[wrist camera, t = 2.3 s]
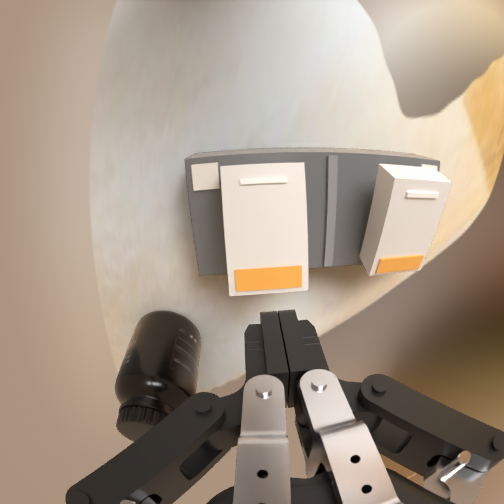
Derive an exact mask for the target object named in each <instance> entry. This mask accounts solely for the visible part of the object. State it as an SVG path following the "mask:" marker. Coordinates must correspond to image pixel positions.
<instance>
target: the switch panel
mask: <svg viewBox="0 0 504 504" xmlns="http://www.w3.org/2000/svg"><path fill="white" fill-rule="evenodd" d="M301 162H304V166H305V182H306V202H307V227H308V268H320V267H333V266H345V265H357V264H363V263H362V261H361V259H360V257H359V256H360V252H361V248H362V244H363V240H364V236H365V232H366V227H367V223H368V219H369V214H370V209H371V204H372V199H373V194H374V189H375V184H376V178H377V172H378V166H379V164H392V165H405V166H416V167H426V168H434V169H436V170H437V171H438V172H439V168H440V161H438V160H435V159H431V158H427V157H423V156H419V155H415V154H410V153H401V152H391V151H379V150H365V149H345V148H262V149H243V150H228V151H215V152H204V153H195V154H193V155H191V156H189V157H188V158H186V159H185V168H186V178H187V187H188V196H189V204H190V213H191V220H192V228H193V235H194V243H195V250H196V256H197V263H198V269H199V275H217V274H228V272H227V260H226V247H225V234H224V220H223V205H222V190H221V173H220V166H230V165H245V164H265V163H301Z"/></svg>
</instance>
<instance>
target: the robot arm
mask: <svg viewBox="0 0 504 504" xmlns="http://www.w3.org/2000/svg"><path fill="white" fill-rule="evenodd" d="M260 321H261V324H252V325H249V326H248V327H247V329H246V331H245V333H244V335H245V365H246V381H245V384H244V385H243V387H242V388H241V389H240V390H238V391H237V392H235V393H233V394H231V395H228V396H225V397H221V398H219V397H218V396H217V395H215V394H212V393H208V392H201V393H197V394H194V395H192V396H191V397H189V398H188V399H187V400H186V401H184V402H183V403H182V404H181V405H180V406H178V407H177V408H176V409H175V410H174V411H172V412H171V413H170V414H169V415H168V416H166V417H165V418H164V419H163V420H162V421H160V422H159V423H158V424H157V425H155V426H154V427H153V428H152V429H150V430H149V431H148V432H147V433H145V434H144V435H143V436H141V437H140V438H139V439H138V440H136V441H135V442H134V443H132V444H131V445H130V446H128V447H127V448H126V449H124V450H123V451H122V452H120V453H119V454H118V455H116V456H115V457H114V458H112V459H111V460H109V461H108V462H107V463H105V464H104V465H102V466H101V467H100V468H98V469H97V470H95V471H94V472H92V473H91V474H89V475H88V476H87V477H85V478H84V479H82V480H81V481H79V482H78V483H76V484H74V485H73V486H72V487H70V488H69V490H68V491H67V493H66V504H172V503H173V502H175V501H176V500H177V499H178V498H179V497H180V496H182V495H183V494H184V493H185V492H186V491H187V490H189V489H190V488H191V487H192V486H193V485H194V484H195V483H196V482H197V481H198V480H200V479H201V478H202V477H203V476H204V475H205V474H206V473H207V472H208V471H209V470H210V469H211V468H212V467H213V466H214V465H215V464H216V463H217V462H218V461H219V460H220V459H221V458H222V457H223V456H224V455H225V454H226V453H227V452H228V451H229V450H230V449H231V447H234V446H237V457H236V470H235V484H234V486H233V487H230V488H228V489H226V490H224V491H222V492H220V493H219V494H217V495H216V496H214V497H213V498H212V499H211V500H210V501H209V502H208V503H207V504H474V502H475V500H476V498H477V495H478V494H479V492H480V489H481V487H482V485H483V483H484V481H485V478H486V476H487V473H488V471H489V470H490V469H491V468H492V467H494V466H495V465H496V464H497V463H499V462H500V461H501V460H502V459H503V458H504V432H503V431H501V430H499V429H496V428H494V427H492V426H489V425H487V424H485V423H483V422H480V421H478V420H476V419H474V418H471V417H469V416H467V415H465V414H463V413H461V412H459V411H456V410H454V409H452V408H450V407H448V406H446V405H444V404H442V403H440V402H438V401H435V400H433V399H431V398H429V397H427V396H425V395H423V394H421V393H419V392H417V391H415V390H413V389H411V388H409V387H407V386H405V385H403V384H402V383H400V382H398V381H396V380H394V379H392V378H390V377H388V376H386V375H382V374H374V375H370V376H368V377H367V378H365V379H364V381H363V382H362V383H358V382H347V381H343V380H340V379H338V378H337V377H336V376H335V375H334V374H333V373H331V372H330V370H329V368H328V365H327V362H326V359H325V356H324V353H323V350H322V347H321V345H320V342H319V338H318V337H317V333H316V330H315V327H314V326H313V325H312V324H311V323H310V322H309V321H308V320H300V321H298V319H297V316H296V312H295V310H284V311H278V314H277V311H273V312H260ZM286 405H288V408H290V407H294V408H295V414H296V417H295V425H296V429H297V432H298V436H299V440H300V443H301V447H302V451H303V454H304V458H305V464H306V475H307V479H301V478H290V465H289V444H288V436H287V431H286V411H285V408H286ZM379 453H380V454H382V455H384V456H386V457H388V458H389V459H391V460H393V461H395V462H397V463H399V464H400V465H402V466H404V467H406V468H408V469H410V470H412V471H414V472H416V473H418V474H420V475H422V476H424V479H423V481H424V488H423V487H421V486H420V485H418V484H416V483H414V482H412V481H411V480H409V479H407V478H405V477H404V476H402V475H400V474H398V473H397V472H395V471H393V470H390V469H388V468H385V466H384V464H383V462H382V459H381V457H380V455H379Z"/></svg>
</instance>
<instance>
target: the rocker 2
mask: <svg viewBox="0 0 504 504" xmlns="http://www.w3.org/2000/svg"><path fill="white" fill-rule="evenodd" d="M451 184H452V182H451V181H449V180H448V179H447V178H446V177H445V176H443V175H442V174H441V173H440V172H438V171H437V170H436V169H434V168H426V167H416V166H405V165H392V164H379V166H378V172H377V178H376V184H375V189H374V194H373V199H372V204H371V209H370V214H369V219H368V223H367V227H366V232H365V236H364V240H363V244H362V248H361V252H360V256H359V257H360V259H361V261H362V263H363V265H364V267H365V269H366V271H367V273H368V275H369V276H374V275H383V274H392V273H401V272H409V271H418V270H421V268H422V266H423V263H424V261H425V258H426V256H427V254H428V251H429V249H430V246H431V244H432V241H433V238H434V236H435V233H436V230H437V228H438V225H439V222H440V219H441V216H442V213H443V210H444V207H445V204H446V201H447V197H448V194H449V191H450V187H451Z"/></svg>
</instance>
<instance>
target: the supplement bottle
mask: <svg viewBox="0 0 504 504" xmlns="http://www.w3.org/2000/svg"><path fill="white" fill-rule="evenodd" d="M200 347H201V337H200V334H199V331H198V330H197V328H196V327H195V325H194V324H193V323H192V322H191V321H190V320H188V319H187V318H185V317H184V316H182V315H180V314H177V313H174V312H170V311H155V312H151V313H149V314H147V315H145V316H144V317H142V318H141V320H140V321H139V322H138V324H137V327H136V329H135V331H134V334H133V336H132V339H131V341H130V344H129V346H128V349H127V352H126V354H125V357H124V360H123V362H122V365H121V368H120V371H119V374H118V376H117V380H116V383H115V392H116V396H117V398H118V400H119V402H120V403H121V406H120V408H119V416H118V419H117V424H116V427H117V429H118V430H119V432H120V433H121V434H122V435H123V436H125V437H126V438H128V439H129V440H132V441H134V442H135V441H136V440H138V439H139V438H140V437H141V436H143V435H144V434H145V433H147V432H148V431H149V430H150V429H152V428H153V427H154V426H155V425H157V424H158V423H159V422H160V421H162V420H163V419H164V418H165V417H166V416H168V415H169V414H170V413H171V412H172V411H174V410H175V409H176V408H177V407H178V406H180V405H181V404H182V403H183V402H184V401H186V400H187V399H188V398H189V397H191V396H192V395H194V394H196V386H197V376H198V366H199V357H200Z"/></svg>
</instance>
